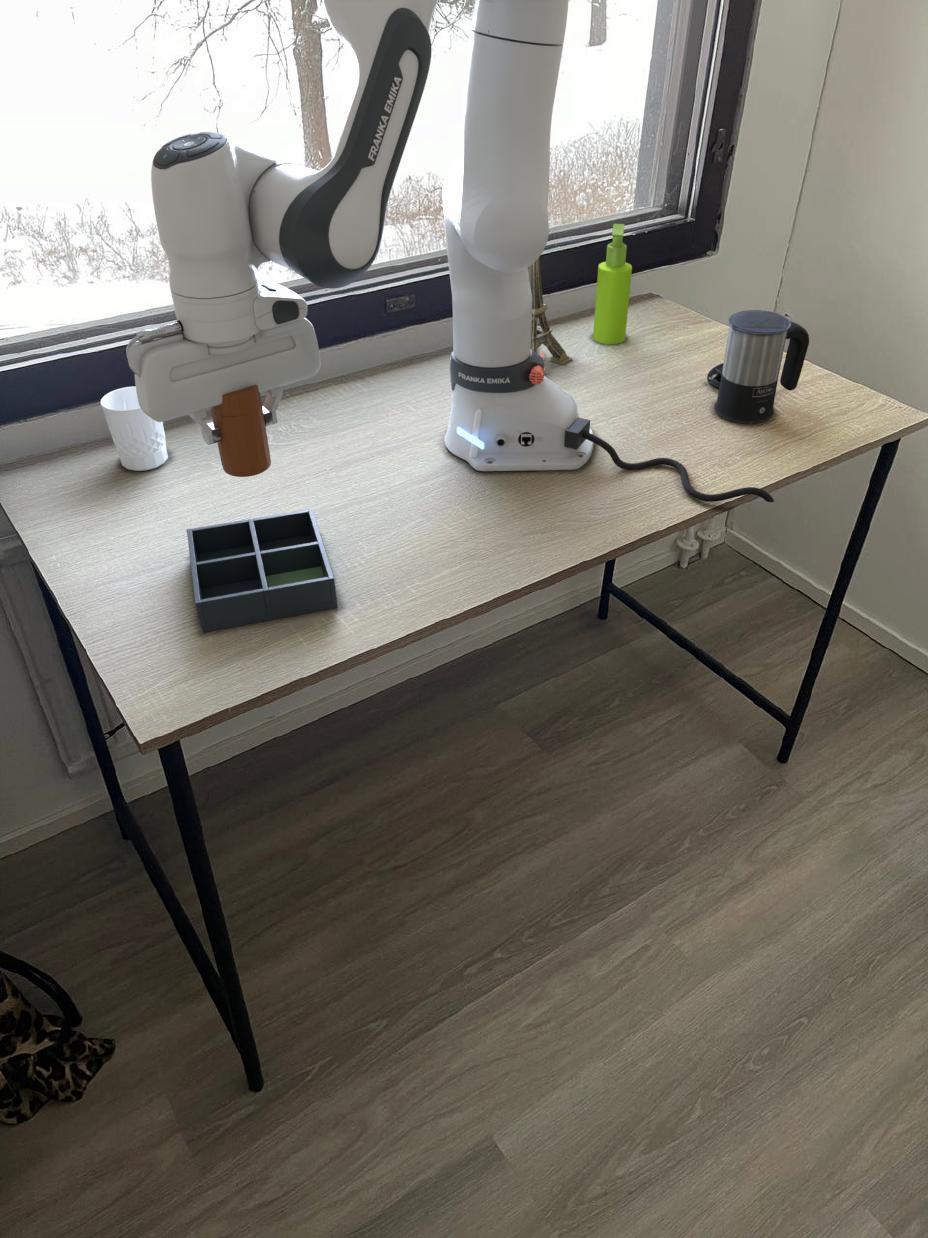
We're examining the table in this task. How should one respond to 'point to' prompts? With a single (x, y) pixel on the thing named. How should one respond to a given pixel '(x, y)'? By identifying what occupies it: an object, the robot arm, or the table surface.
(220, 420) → the jar
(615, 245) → the soap dispenser
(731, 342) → the milk frother
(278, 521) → the compartment tray
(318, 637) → the table surface
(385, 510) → the table surface
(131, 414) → the white cup
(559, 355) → the eiffel tower
